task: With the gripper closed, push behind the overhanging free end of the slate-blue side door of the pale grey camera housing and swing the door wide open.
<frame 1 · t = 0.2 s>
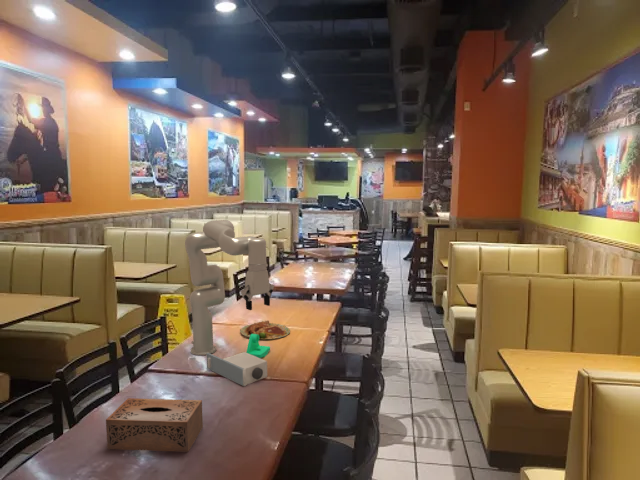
hand: (258, 307, 193), 31 cm above the table, tool pointing down, fingers open, 9 cm apart
side door: (224, 369, 195), point 4 cm above the table, hinge at 0.0°
camera housing: (244, 375, 198), on the table
camera mount: (258, 355, 222), on the table
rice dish: (265, 333, 256), on the table
tissue box cover: (157, 439, 149), on the table
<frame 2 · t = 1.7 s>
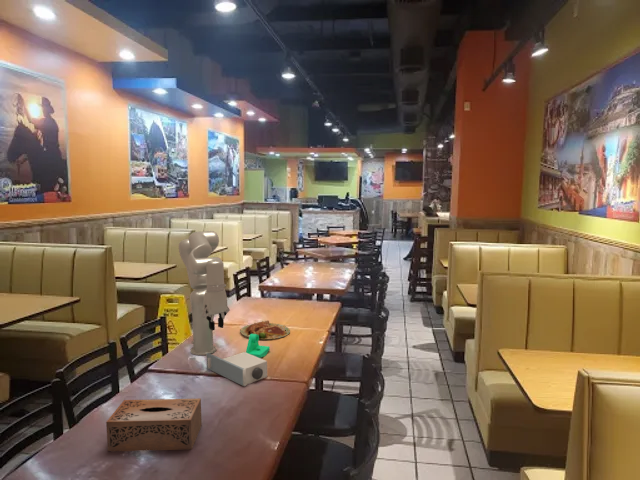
hand: (216, 328, 202), 19 cm above the table, tool pointing down, fingers open, 3 cm apart
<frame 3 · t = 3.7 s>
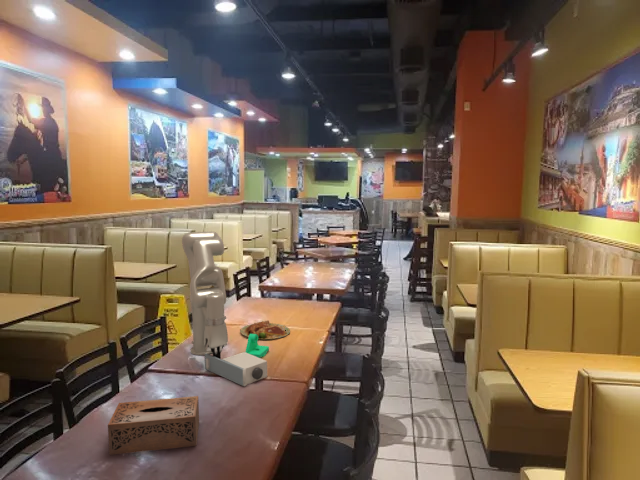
hand: (216, 360, 203), 4 cm above the table, tool pointing down, fingers closed
side door: (223, 369, 195), point 4 cm above the table, hinge at 2.0°, touching gripper
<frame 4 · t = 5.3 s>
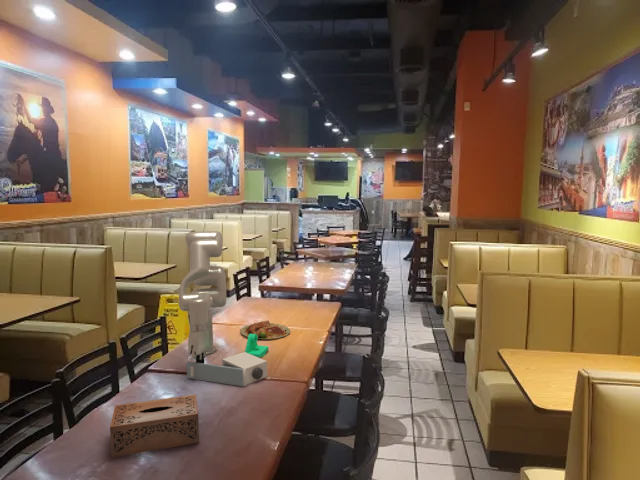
hand: (200, 367, 196), 4 cm above the table, tool pointing down, fingers closed
side door: (215, 374, 190), point 4 cm above the table, hinge at 25.5°, touching gripper
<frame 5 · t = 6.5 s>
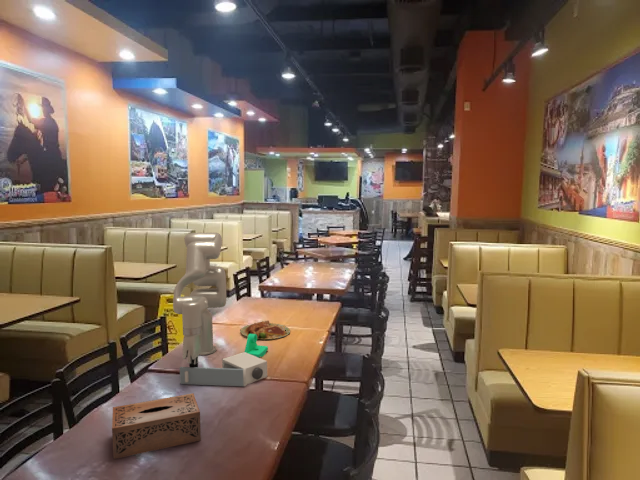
hand: (193, 372, 191), 4 cm above the table, tool pointing down, fingers closed
side door: (212, 376, 187), point 4 cm above the table, hinge at 38.5°, touching gripper
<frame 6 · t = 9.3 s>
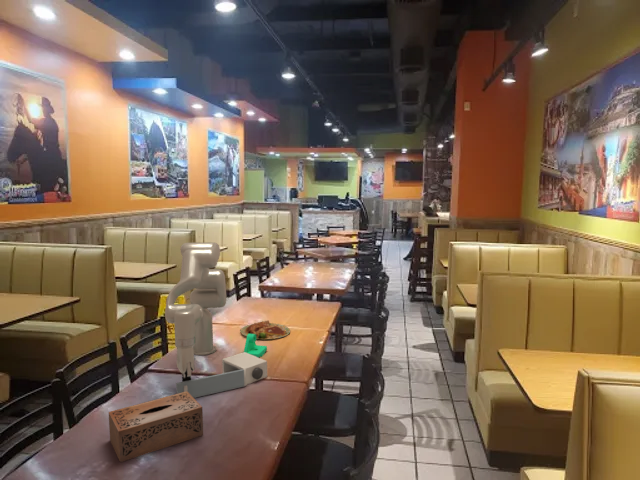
hand: (186, 386, 178), 4 cm above the table, tool pointing down, fingers closed
side door: (212, 385, 179), point 4 cm above the table, hinge at 73.0°, touching gripper
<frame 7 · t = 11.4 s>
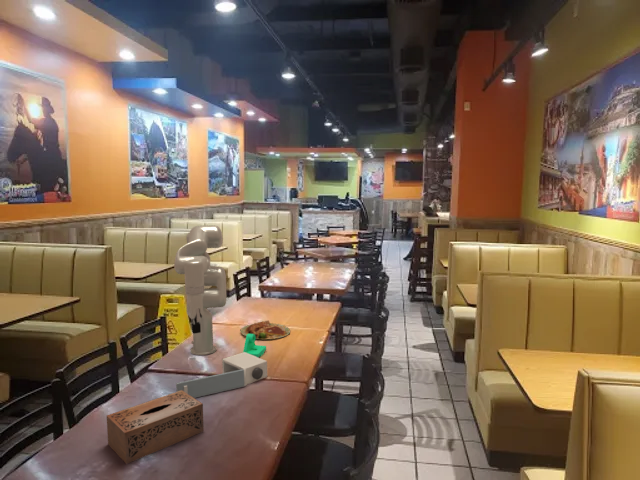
hand: (196, 332, 189), 21 cm above the table, tool pointing down, fingers closed
side door: (212, 385, 179), point 4 cm above the table, hinge at 73.1°
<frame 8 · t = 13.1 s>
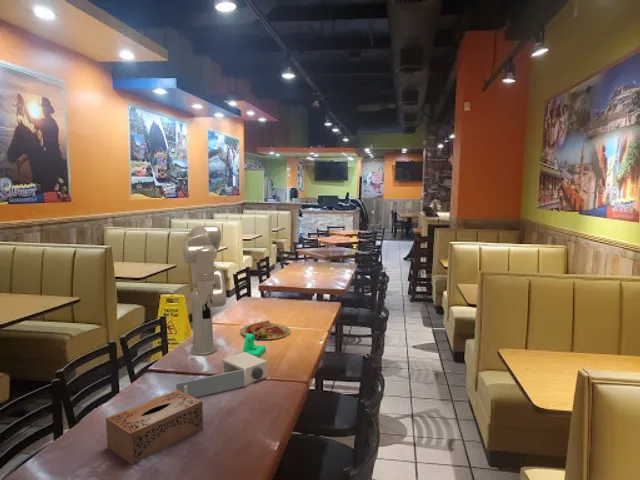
hand: (206, 318, 196), 25 cm above the table, tool pointing down, fingers closed
at the end: side door at +73° (first picture: +0°) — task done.
